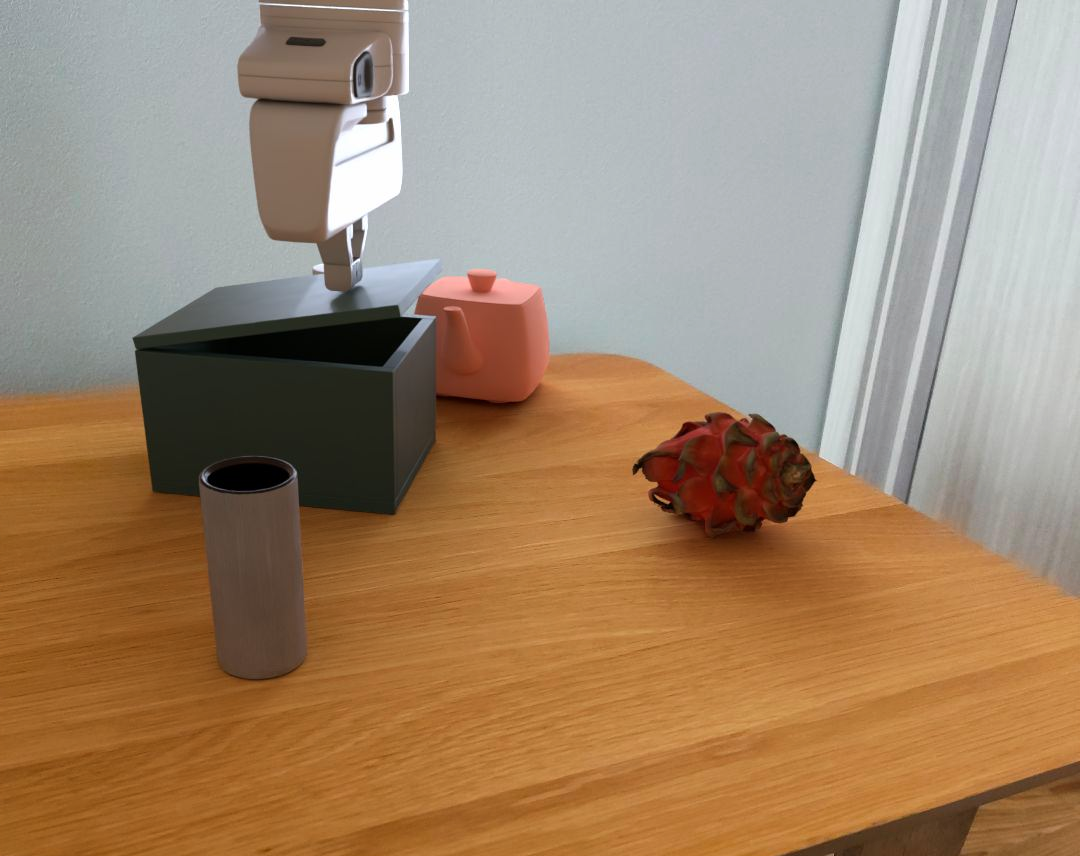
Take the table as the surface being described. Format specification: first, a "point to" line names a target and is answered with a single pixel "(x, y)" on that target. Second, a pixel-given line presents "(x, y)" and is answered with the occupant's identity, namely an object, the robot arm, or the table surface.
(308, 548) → the table surface
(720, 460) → the dragon fruit
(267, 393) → the box
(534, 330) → the teapot
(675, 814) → the table surface
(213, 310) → the lid
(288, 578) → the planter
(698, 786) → the table surface
